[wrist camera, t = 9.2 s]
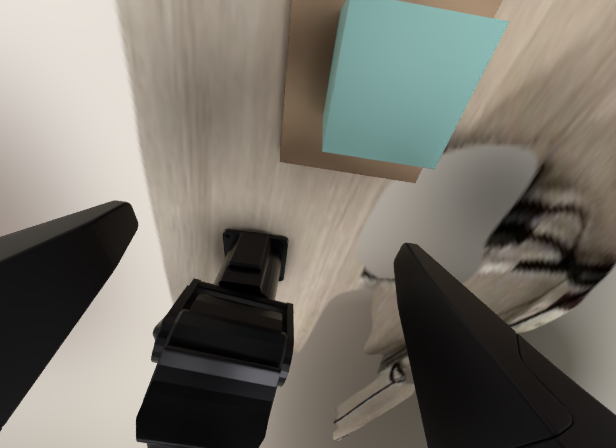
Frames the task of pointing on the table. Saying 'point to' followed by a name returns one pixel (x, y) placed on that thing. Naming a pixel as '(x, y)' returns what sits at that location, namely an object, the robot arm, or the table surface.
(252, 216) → the table surface
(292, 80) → the base plinth
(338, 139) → the teal block
